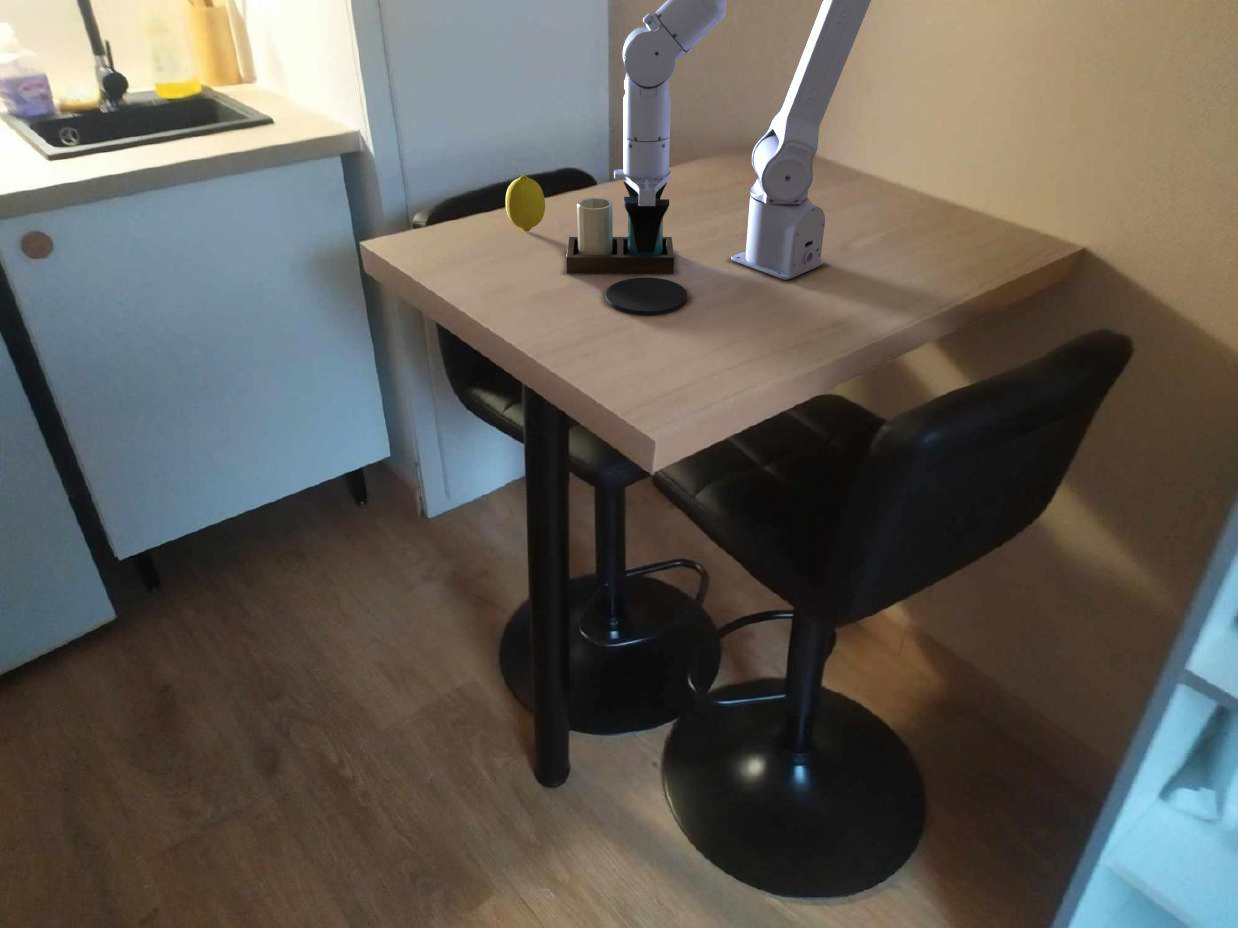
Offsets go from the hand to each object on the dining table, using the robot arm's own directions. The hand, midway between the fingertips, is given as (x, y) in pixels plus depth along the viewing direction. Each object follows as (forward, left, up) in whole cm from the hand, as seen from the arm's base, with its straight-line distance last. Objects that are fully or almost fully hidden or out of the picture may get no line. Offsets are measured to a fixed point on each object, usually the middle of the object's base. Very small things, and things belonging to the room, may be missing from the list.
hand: (645, 242), depth 121 cm
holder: (+2, +2, -3) cm, 4 cm away
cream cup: (+4, +5, -3) cm, 7 cm away
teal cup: (0, 0, -3) cm, 3 cm away
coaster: (-8, +7, -3) cm, 11 cm away
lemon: (+20, +4, -3) cm, 20 cm away
